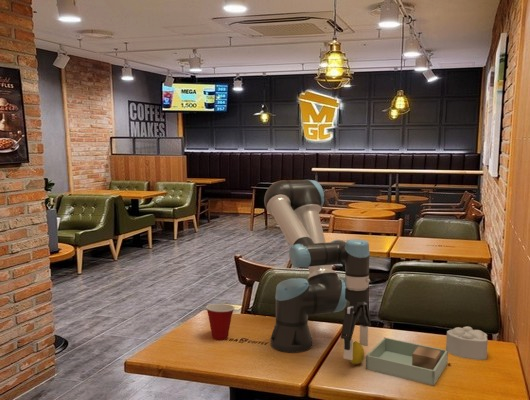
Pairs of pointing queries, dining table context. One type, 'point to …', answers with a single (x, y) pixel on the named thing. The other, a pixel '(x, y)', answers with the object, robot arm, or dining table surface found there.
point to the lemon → (357, 353)
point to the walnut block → (425, 357)
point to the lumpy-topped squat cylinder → (467, 343)
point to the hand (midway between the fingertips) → (356, 352)
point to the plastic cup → (220, 320)
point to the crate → (403, 361)
